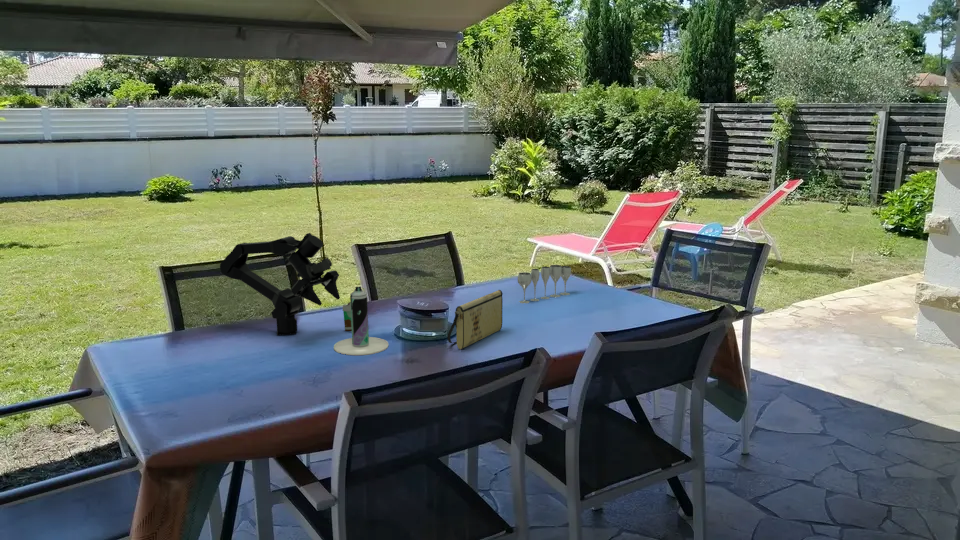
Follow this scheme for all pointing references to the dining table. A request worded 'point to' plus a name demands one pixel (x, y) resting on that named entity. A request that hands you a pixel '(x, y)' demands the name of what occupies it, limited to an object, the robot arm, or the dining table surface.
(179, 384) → the dining table surface
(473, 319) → the clutch purse
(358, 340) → the spray can
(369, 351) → the cream round disc
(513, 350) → the dining table surface
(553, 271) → the goblet set
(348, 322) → the food container
